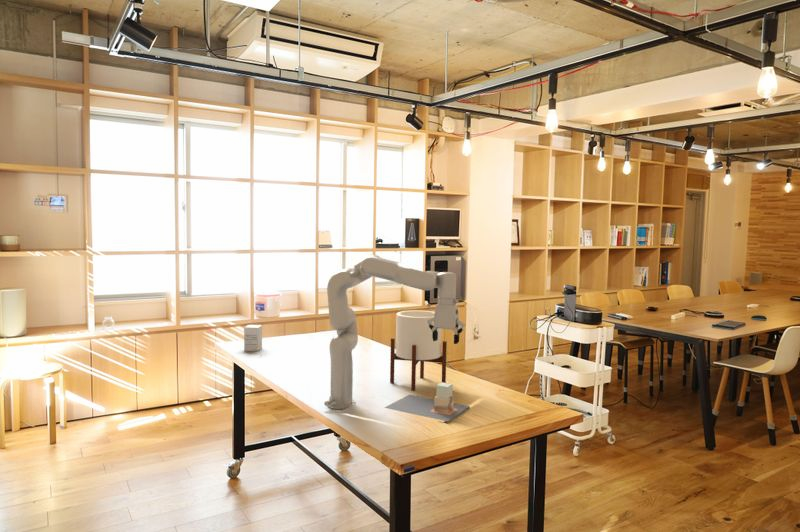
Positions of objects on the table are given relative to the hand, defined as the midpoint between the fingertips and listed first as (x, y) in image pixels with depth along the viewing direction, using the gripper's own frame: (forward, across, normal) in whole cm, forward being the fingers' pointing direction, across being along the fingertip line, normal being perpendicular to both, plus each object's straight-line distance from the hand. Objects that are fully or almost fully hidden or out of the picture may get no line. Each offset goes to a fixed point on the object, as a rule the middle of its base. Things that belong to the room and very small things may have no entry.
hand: (445, 342), depth 229 cm
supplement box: (+31, +152, -40) cm, 160 cm away
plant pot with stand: (+31, +29, -30) cm, 52 cm away
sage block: (+23, 0, 0) cm, 23 cm away
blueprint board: (+30, +8, 0) cm, 31 cm away
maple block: (+29, 0, 0) cm, 29 cm away
